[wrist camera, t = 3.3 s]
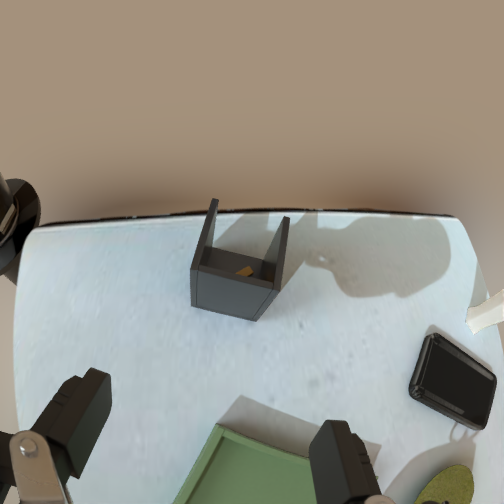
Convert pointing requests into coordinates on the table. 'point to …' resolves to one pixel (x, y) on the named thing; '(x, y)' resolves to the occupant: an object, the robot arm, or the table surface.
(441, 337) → the phone
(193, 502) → the tray
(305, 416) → the table surface
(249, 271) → the key
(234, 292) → the holder
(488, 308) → the perfume bottle
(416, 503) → the green round disc
